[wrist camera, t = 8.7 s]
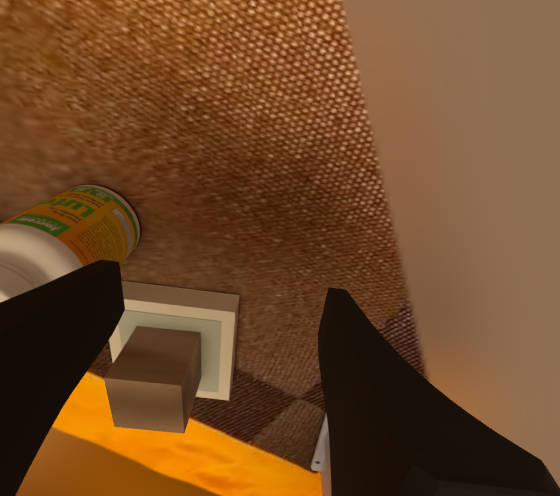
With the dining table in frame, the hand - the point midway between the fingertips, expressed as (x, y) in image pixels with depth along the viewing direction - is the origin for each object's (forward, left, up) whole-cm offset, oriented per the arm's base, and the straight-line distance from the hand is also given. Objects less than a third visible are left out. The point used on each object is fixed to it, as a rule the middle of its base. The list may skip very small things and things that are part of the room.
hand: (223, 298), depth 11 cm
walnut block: (-12, +5, -8) cm, 15 cm away
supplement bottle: (-3, +10, -11) cm, 15 cm away
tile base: (-12, +5, -10) cm, 17 cm away
